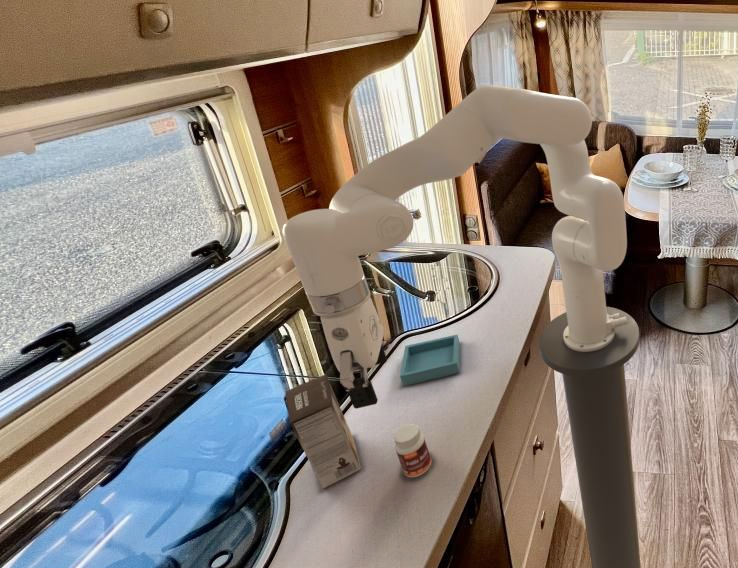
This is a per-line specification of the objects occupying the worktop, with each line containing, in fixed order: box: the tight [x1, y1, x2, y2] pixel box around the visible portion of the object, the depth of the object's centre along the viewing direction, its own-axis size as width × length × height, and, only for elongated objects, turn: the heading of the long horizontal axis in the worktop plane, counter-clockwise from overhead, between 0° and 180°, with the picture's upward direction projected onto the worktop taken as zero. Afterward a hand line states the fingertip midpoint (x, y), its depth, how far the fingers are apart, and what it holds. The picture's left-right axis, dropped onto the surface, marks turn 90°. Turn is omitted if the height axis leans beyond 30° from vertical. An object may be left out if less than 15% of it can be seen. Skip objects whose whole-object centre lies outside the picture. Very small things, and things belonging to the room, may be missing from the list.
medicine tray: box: [399, 334, 461, 387], centre depth 112 cm, size 12×11×3 cm
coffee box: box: [285, 373, 362, 489], centre depth 87 cm, size 9×6×16 cm
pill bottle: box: [393, 423, 433, 478], centre depth 87 cm, size 5×5×8 cm
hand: (371, 383), depth 79 cm, fingers open, 9 cm apart
